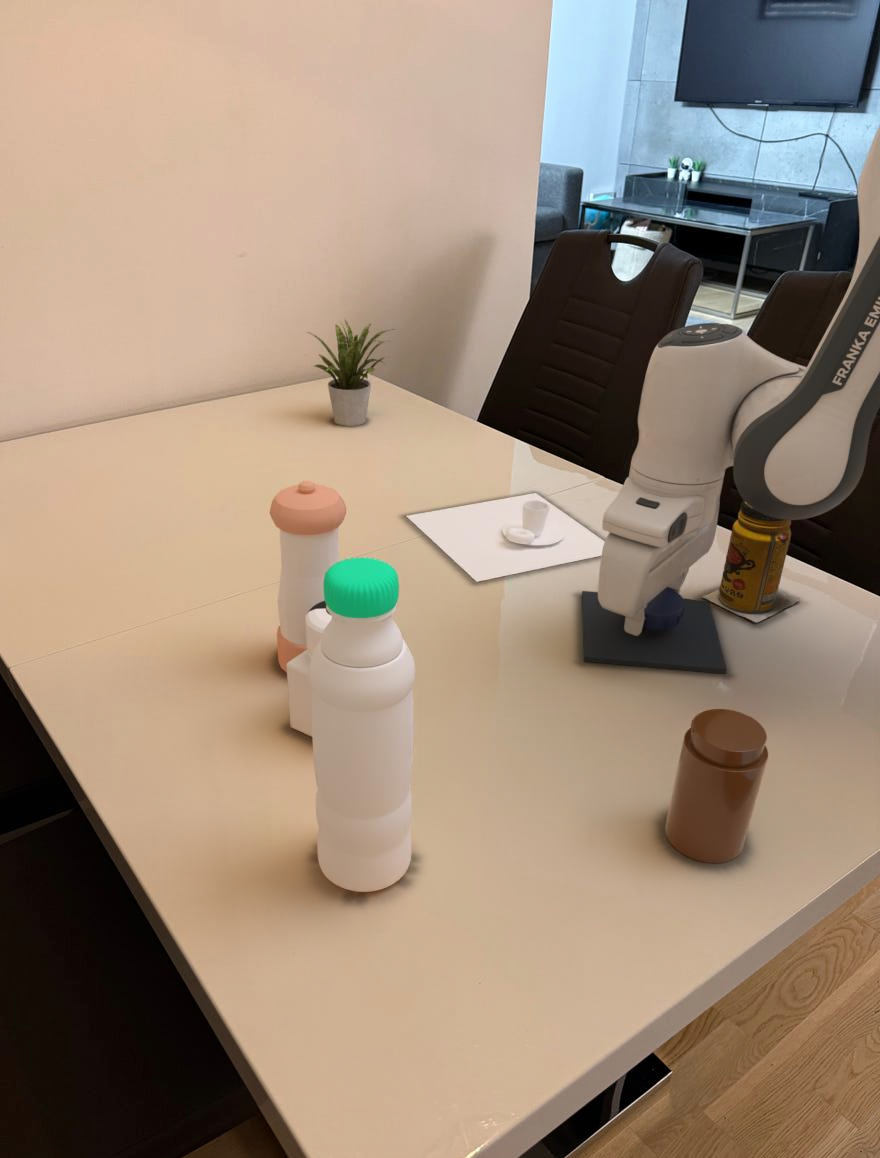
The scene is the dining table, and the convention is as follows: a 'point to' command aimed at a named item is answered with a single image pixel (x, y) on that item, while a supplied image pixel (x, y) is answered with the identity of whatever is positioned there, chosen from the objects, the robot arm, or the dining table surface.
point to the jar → (716, 785)
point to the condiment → (754, 566)
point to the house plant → (350, 376)
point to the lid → (664, 610)
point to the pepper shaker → (304, 557)
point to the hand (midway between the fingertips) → (651, 616)
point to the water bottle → (362, 729)
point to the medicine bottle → (305, 671)
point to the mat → (653, 639)
